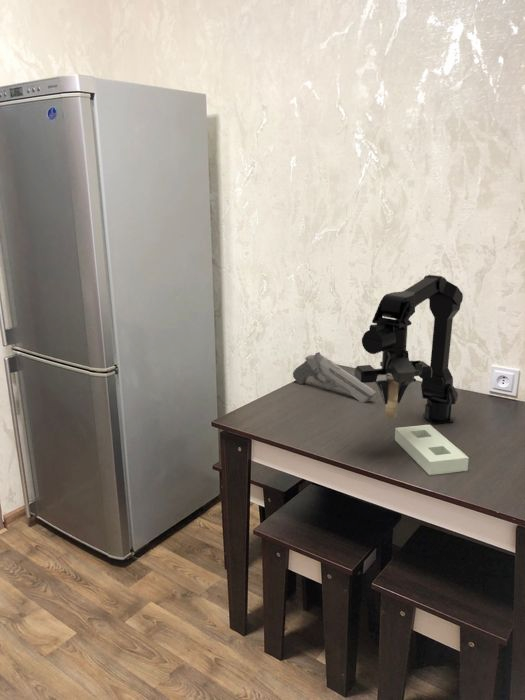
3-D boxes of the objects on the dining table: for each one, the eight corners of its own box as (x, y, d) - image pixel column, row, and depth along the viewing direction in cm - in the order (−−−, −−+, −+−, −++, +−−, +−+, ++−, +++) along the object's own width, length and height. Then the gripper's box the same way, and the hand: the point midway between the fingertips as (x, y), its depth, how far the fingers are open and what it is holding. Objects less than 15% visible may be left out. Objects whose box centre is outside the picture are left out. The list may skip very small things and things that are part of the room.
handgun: (363, 426, 186) (378, 389, 179) (358, 429, 184) (373, 392, 176) (294, 376, 202) (306, 341, 195) (289, 378, 200) (300, 343, 193)
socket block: (394, 439, 154) (395, 428, 153) (428, 436, 156) (429, 424, 155) (429, 475, 135) (430, 462, 134) (467, 470, 137) (468, 457, 136)
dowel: (394, 413, 148) (396, 377, 145) (398, 417, 145) (400, 381, 142) (383, 414, 147) (384, 378, 144) (387, 418, 144) (389, 381, 141)
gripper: (370, 356, 131) (367, 418, 136) (444, 351, 134) (440, 412, 139) (354, 344, 142) (353, 401, 146) (424, 339, 145) (420, 396, 149)
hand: (391, 403), depth 145 cm, fingers closed on dowel, 3 cm apart
